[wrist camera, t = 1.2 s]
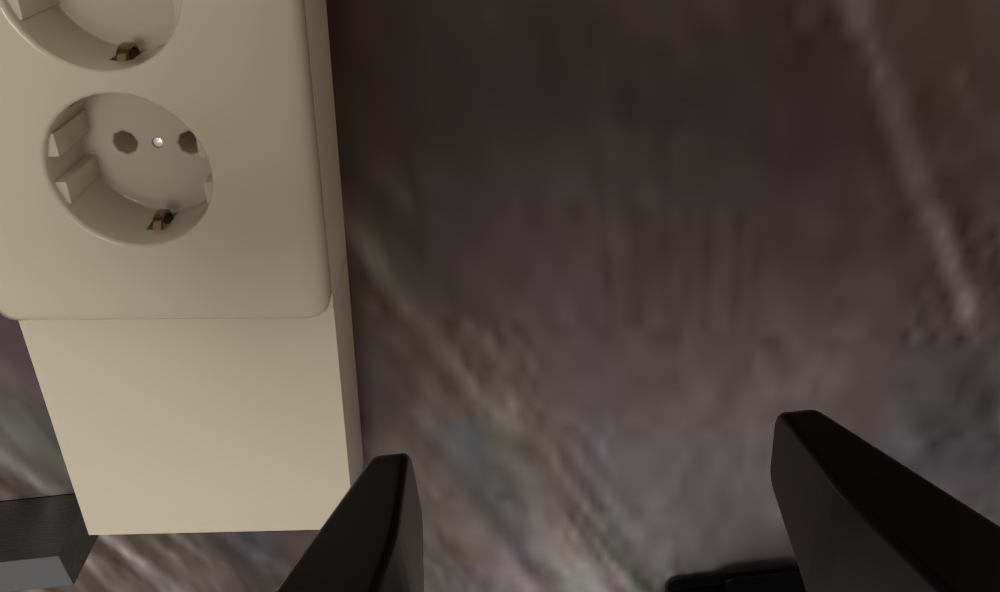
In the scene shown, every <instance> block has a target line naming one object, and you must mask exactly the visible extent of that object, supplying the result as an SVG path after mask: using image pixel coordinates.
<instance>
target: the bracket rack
mask: <svg viewBox="0 0 1000 592" xmlns="http://www.w3.org/2000/svg"><path fill="white" fill-rule="evenodd" d="M97 537H98V535H89V534H88V531H87V528H86V525H85V522H84V519H83V516H82V513H81V510H80V507H79V503H78V500H77V497H76V494H72V495H62V496H53V497H44V498H34V499H25V500H15V501H6V502H0V592H12V591H21V590H31V589H40V588H50V587H59V586H69V585H74V583H75V581H76V579H77V577H78V575H79V573H80V571H81V569H82V567H83V565H84V563H85V561H86V559H87V557H88V555H89V553H90V551H91V549H92V547H93V545H94V543H95V541H96V539H97Z"/></svg>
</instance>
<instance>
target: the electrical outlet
mask: <svg viewBox="0 0 1000 592" xmlns="http://www.w3.org/2000/svg"><path fill="white" fill-rule="evenodd" d="M0 313H1V314H2V315H3V316H4V317H7V318H9V319H11V320H19V323H20V327H21V330H22V333H23V336H24V339H25V342H26V345H27V348H28V351H29V354H30V357H31V360H32V363H33V366H34V369H35V372H36V375H37V378H38V381H39V384H40V388H41V391H42V394H43V397H44V400H45V403H46V406H47V409H48V412H49V415H50V418H51V421H52V424H53V427H54V430H55V433H56V436H57V439H58V442H59V446H60V449H61V452H62V455H63V458H64V461H65V464H66V467H67V470H68V473H69V476H70V479H71V482H72V485H73V488H74V491H75V494H76V497H77V500H78V503H79V507H80V510H81V513H82V516H83V519H84V522H85V525H86V528H87V531H88V534H89V535H112V534H154V533H195V532H237V531H279V530H320V529H321V528H322V526H323V525H324V524H325V522H326V521H327V519H328V518H329V517H330V515H331V514H332V512H333V511H334V510H335V508H336V507H337V506H338V504H339V503H340V501H341V500H342V499H343V497H344V496H345V494H346V493H347V492H348V490H349V489H350V488H351V486H352V485H353V483H354V482H355V481H356V479H357V478H358V476H359V475H360V474H361V472H362V468H363V450H362V437H361V425H360V413H359V400H358V388H357V376H356V364H355V351H354V339H353V327H352V314H351V302H350V290H349V277H348V265H347V255H346V241H345V228H344V216H343V204H342V191H341V179H340V167H339V155H338V142H337V130H336V118H335V105H334V93H333V81H332V68H331V56H330V44H329V32H328V19H327V7H326V0H0Z"/></svg>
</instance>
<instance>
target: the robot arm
mask: <svg viewBox="0 0 1000 592" xmlns="http://www.w3.org/2000/svg"><path fill="white" fill-rule="evenodd" d="M770 470H771V481H772V486H773V490H774V493H775V496H776V499H777V502H778V505H779V508H780V511H781V514H782V517H783V521H784V524H785V527H786V530H787V533H788V536H789V539H790V542H791V545H792V548H793V551H794V554H795V557H796V560H797V563H798V567H793V568H783V569H774V570H764V571H755V572H745V573H736V574H727V575H717V576H708V577H698V578H689V579H679V580H675V581H673V582H671V583H669V584H668V586H667V587H666V590H665V592H1000V527H999V526H998V525H996V524H995V523H993V522H992V521H990V520H988V519H987V518H985V517H984V516H982V515H981V514H979V513H977V512H976V511H974V510H973V509H971V508H970V507H968V506H967V505H965V504H963V503H962V502H960V501H959V500H957V499H956V498H954V497H952V496H951V495H949V494H948V493H946V492H945V491H943V490H941V489H940V488H938V487H937V486H935V485H934V484H932V483H930V482H929V481H927V480H926V479H924V478H923V477H921V476H919V475H918V474H916V473H915V472H913V471H912V470H910V469H908V468H907V467H905V466H904V465H902V464H901V463H899V462H897V461H896V460H894V459H893V458H891V457H890V456H888V455H887V454H885V453H883V452H882V451H880V450H879V449H877V448H876V447H874V446H872V445H871V444H869V443H868V442H866V441H865V440H863V439H861V438H860V437H858V436H857V435H855V434H854V433H852V432H850V431H849V430H847V429H846V428H844V427H843V426H841V425H839V424H838V423H836V422H835V421H833V420H832V419H830V418H828V417H827V416H825V415H824V414H822V413H820V412H818V411H816V410H803V411H793V412H784V413H782V414H780V415H779V416H778V417H777V420H776V423H775V430H774V439H773V449H772V458H771V469H770ZM276 592H424V569H423V523H422V512H421V505H420V500H419V495H418V490H417V485H416V480H415V475H414V470H413V465H412V461H411V458H410V457H409V456H408V455H407V454H405V453H401V454H392V455H383V456H376V457H374V458H373V459H371V460H370V461H369V463H368V464H367V465H366V467H365V468H364V470H363V471H362V472H361V474H360V475H359V476H358V478H357V479H356V481H355V482H354V483H353V485H352V486H351V488H350V489H349V490H348V492H347V493H346V494H345V496H344V497H343V499H342V500H341V501H340V503H339V504H338V506H337V507H336V508H335V510H334V511H333V512H332V514H331V515H330V517H329V518H328V519H327V521H326V522H325V524H324V525H323V526H322V528H321V529H320V531H319V532H318V533H317V535H316V536H315V537H314V539H313V540H312V542H311V543H310V544H309V546H308V547H307V549H306V550H305V551H304V553H303V554H302V555H301V557H300V558H299V560H298V561H297V562H296V564H295V565H294V567H293V568H292V569H291V571H290V572H289V573H288V575H287V576H286V578H285V579H284V580H283V582H282V583H281V585H280V586H279V587H278V589H277V590H276Z"/></svg>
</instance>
